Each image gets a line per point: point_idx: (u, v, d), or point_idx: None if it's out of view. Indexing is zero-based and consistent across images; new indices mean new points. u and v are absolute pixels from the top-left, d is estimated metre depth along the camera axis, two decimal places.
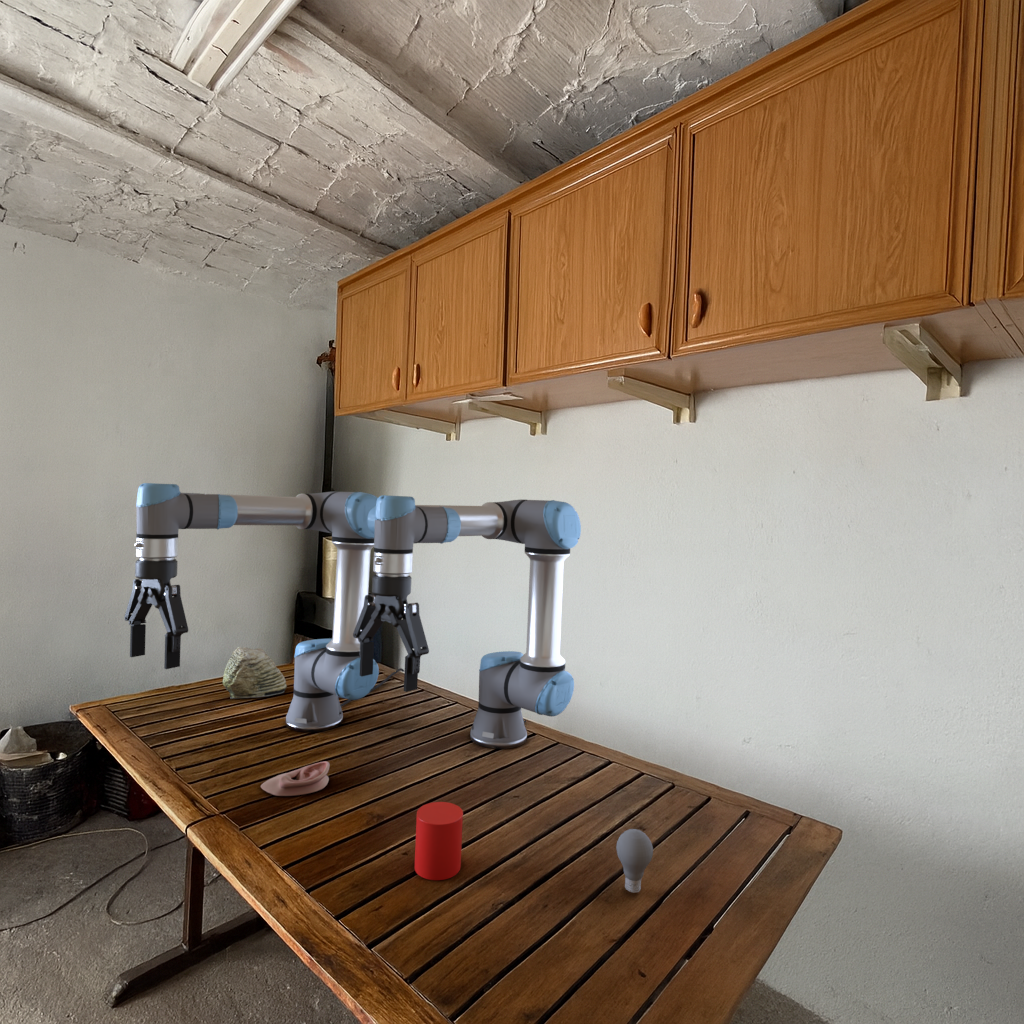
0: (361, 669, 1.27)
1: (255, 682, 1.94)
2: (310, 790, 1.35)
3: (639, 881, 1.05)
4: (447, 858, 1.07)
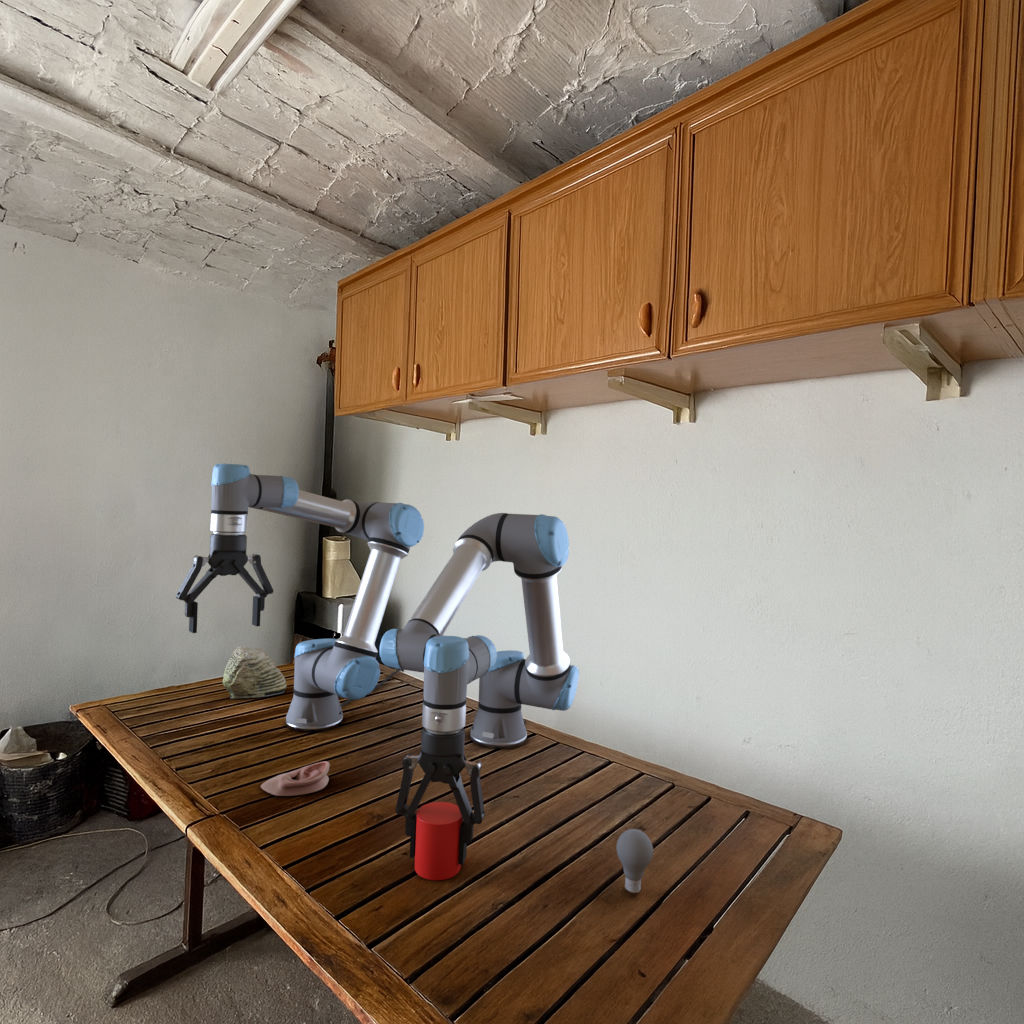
0: (412, 850, 1.10)
1: (255, 682, 1.94)
2: (310, 790, 1.35)
3: (639, 881, 1.05)
4: (447, 858, 1.07)
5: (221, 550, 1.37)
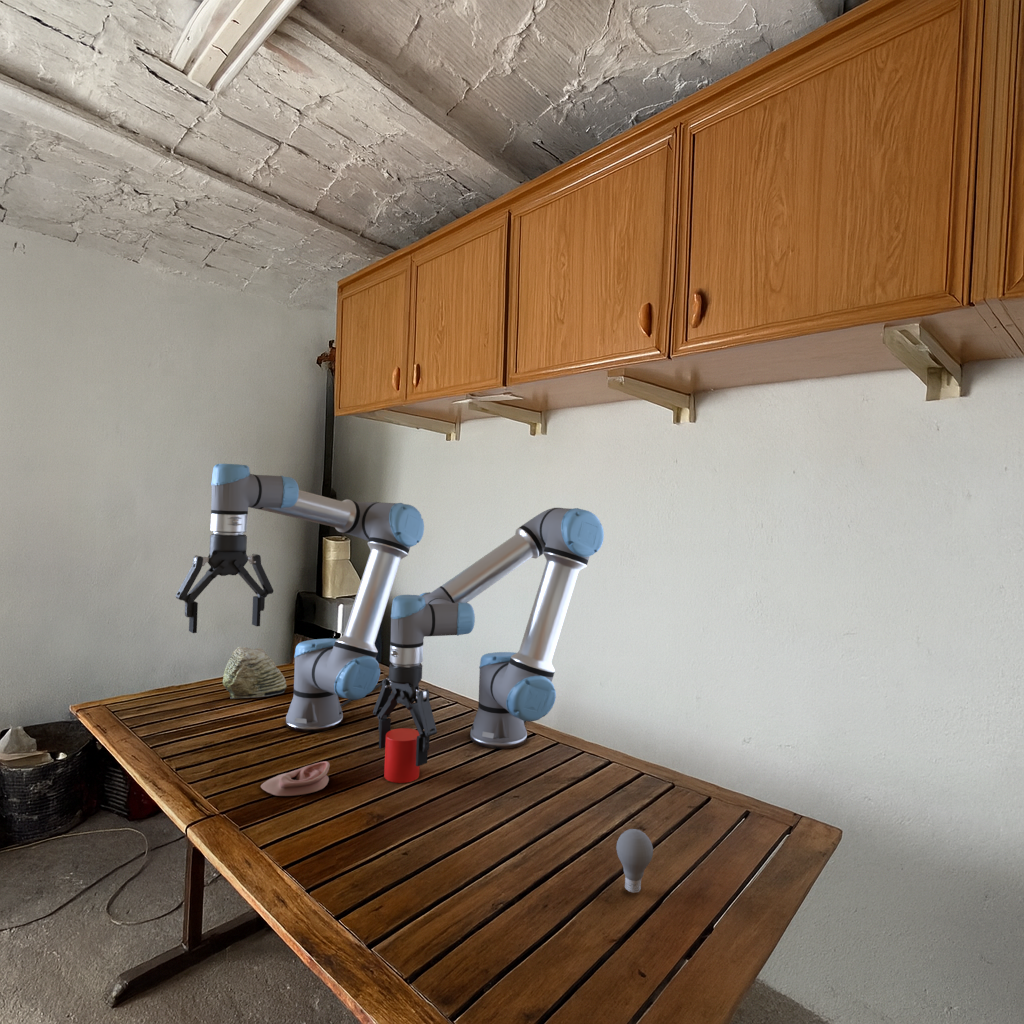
0: (380, 743, 1.49)
1: (255, 682, 1.94)
2: (310, 790, 1.35)
3: (639, 881, 1.05)
4: (398, 767, 1.42)
5: (221, 550, 1.37)
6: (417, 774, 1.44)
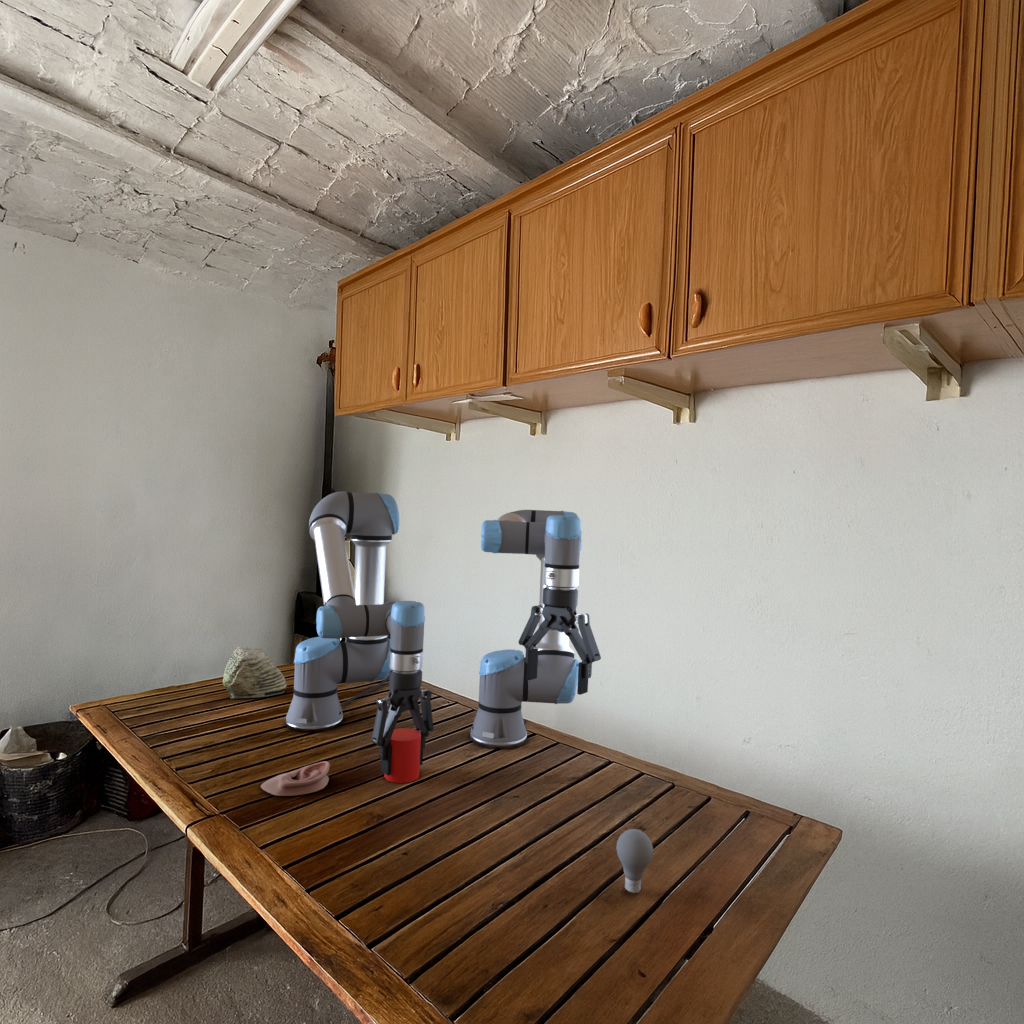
0: (528, 674, 1.40)
1: (255, 682, 1.94)
2: (310, 790, 1.35)
3: (639, 881, 1.05)
4: (398, 767, 1.42)
5: (403, 689, 1.42)
6: (417, 774, 1.44)
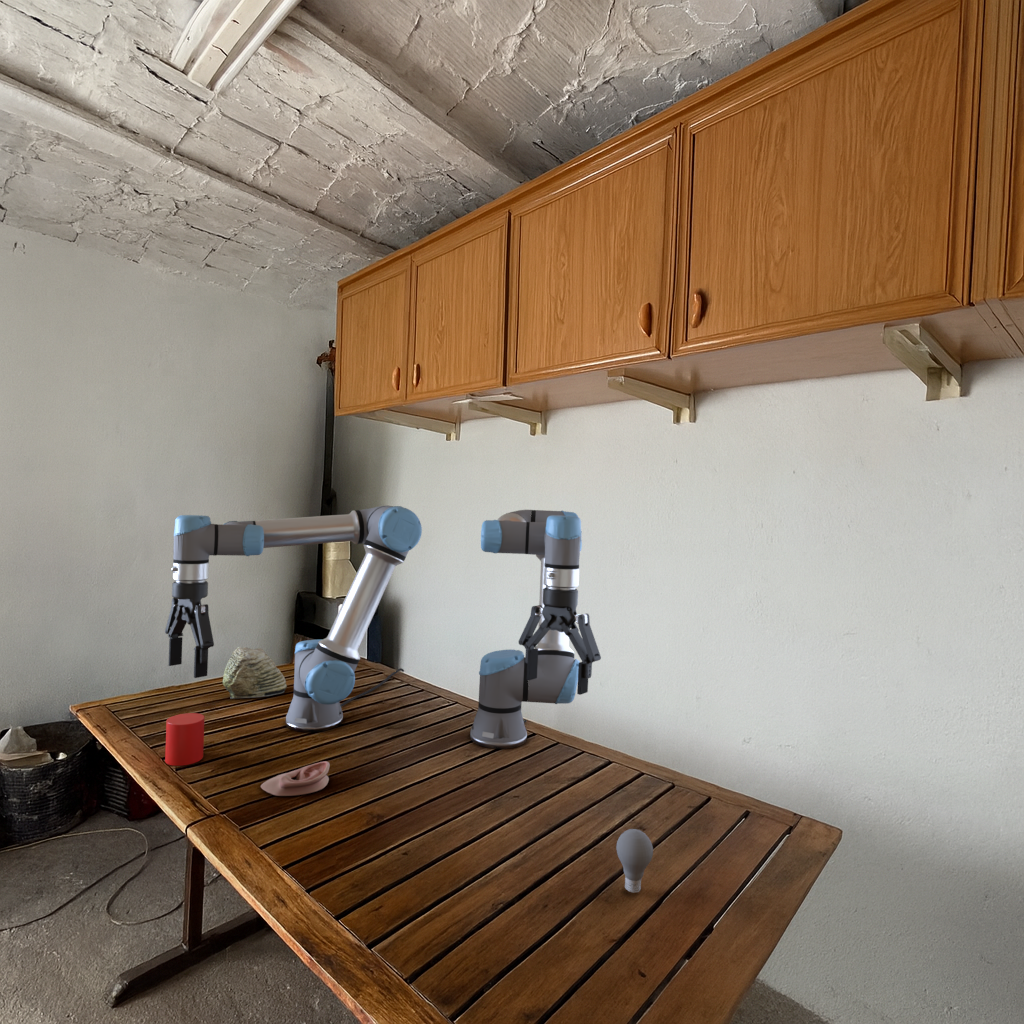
0: (528, 674, 1.40)
1: (255, 682, 1.94)
2: (310, 790, 1.35)
3: (639, 881, 1.05)
4: None
5: None
6: (172, 761, 1.46)
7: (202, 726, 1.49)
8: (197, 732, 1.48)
